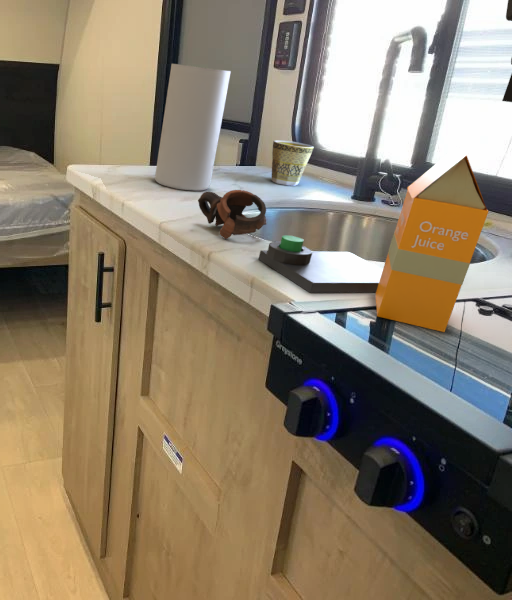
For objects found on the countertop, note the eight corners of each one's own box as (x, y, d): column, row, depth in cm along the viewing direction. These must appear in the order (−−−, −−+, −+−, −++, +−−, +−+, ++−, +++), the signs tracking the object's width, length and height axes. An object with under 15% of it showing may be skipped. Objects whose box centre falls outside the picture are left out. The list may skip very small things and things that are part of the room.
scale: (346, 260, 94) (351, 242, 92) (407, 292, 82) (414, 271, 81) (255, 259, 88) (259, 239, 87) (307, 293, 77) (312, 271, 76)
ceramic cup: (298, 189, 149) (308, 148, 145) (259, 181, 153) (268, 141, 150) (311, 183, 159) (320, 145, 156) (275, 176, 164) (283, 138, 160)
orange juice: (437, 308, 78) (492, 152, 70) (445, 332, 70) (509, 160, 62) (373, 293, 80) (420, 141, 72) (375, 316, 72) (427, 147, 65)
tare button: (292, 247, 87) (295, 235, 86) (304, 253, 84) (307, 242, 84) (275, 246, 86) (278, 235, 85) (286, 253, 83) (289, 241, 83)
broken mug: (263, 234, 104) (279, 200, 98) (242, 268, 99) (258, 233, 92) (202, 204, 107) (214, 168, 100) (178, 235, 101) (189, 199, 95)
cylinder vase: (153, 176, 141) (170, 63, 132) (206, 183, 141) (226, 70, 132) (155, 186, 130) (173, 63, 120) (212, 194, 130) (234, 71, 120)
